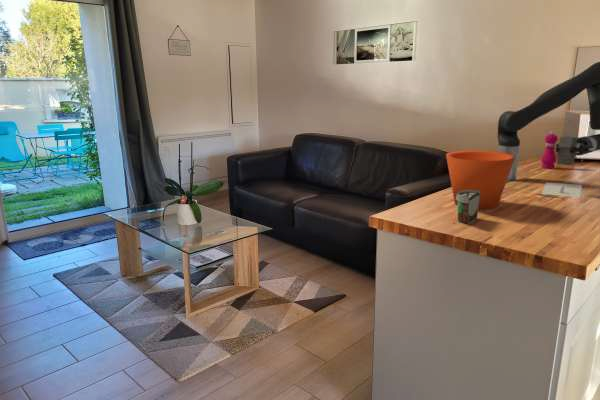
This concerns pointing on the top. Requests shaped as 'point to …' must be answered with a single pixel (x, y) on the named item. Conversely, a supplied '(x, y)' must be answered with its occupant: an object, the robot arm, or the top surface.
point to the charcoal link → (566, 150)
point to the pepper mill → (549, 151)
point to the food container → (467, 205)
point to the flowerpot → (480, 174)
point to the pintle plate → (556, 188)
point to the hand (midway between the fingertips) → (563, 150)
